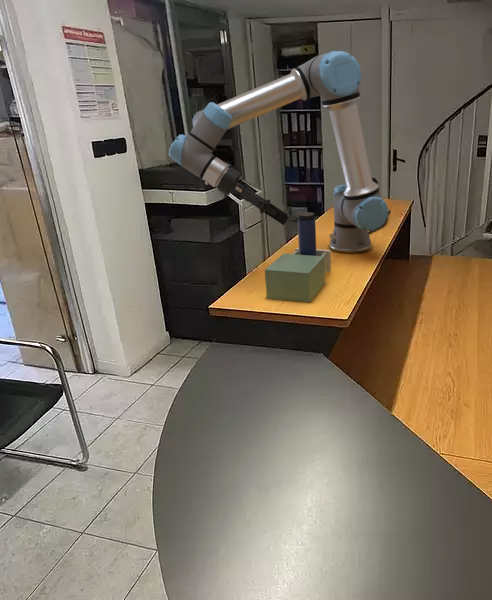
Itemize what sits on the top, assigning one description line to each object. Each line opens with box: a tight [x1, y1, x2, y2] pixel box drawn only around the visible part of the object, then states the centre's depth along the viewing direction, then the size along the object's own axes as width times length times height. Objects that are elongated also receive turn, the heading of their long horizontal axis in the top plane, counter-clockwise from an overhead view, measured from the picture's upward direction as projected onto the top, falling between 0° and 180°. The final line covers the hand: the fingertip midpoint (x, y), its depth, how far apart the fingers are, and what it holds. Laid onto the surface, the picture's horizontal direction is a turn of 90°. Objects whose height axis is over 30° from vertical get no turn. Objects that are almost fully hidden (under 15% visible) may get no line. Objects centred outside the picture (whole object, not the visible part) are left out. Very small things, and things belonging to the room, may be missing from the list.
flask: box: [297, 211, 317, 256], centre depth 145 cm, size 5×5×18 cm
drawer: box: [292, 247, 332, 275], centre depth 149 cm, size 18×11×7 cm, turn 166°
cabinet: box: [264, 253, 326, 303], centre depth 138 cm, size 15×13×9 cm
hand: (286, 219), depth 143 cm, fingers open, 13 cm apart
